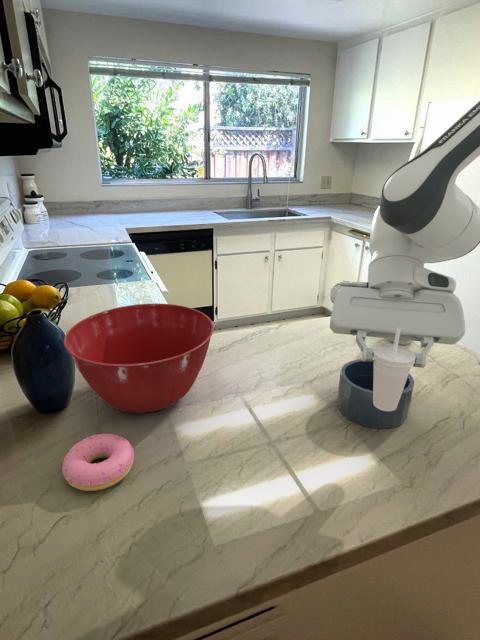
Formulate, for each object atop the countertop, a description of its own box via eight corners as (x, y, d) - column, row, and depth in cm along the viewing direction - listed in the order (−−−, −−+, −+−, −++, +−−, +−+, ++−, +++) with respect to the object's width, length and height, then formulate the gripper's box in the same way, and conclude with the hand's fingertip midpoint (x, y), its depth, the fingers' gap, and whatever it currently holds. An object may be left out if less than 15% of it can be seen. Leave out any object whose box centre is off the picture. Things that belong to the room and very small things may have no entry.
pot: (402, 393, 86) (407, 363, 83) (412, 433, 74) (420, 399, 71) (337, 386, 89) (340, 355, 86) (337, 423, 76) (341, 389, 74)
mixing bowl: (138, 461, 67) (129, 381, 61) (47, 401, 83) (33, 332, 77) (241, 388, 87) (241, 323, 81) (153, 351, 103) (148, 294, 97)
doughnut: (138, 444, 71) (136, 425, 69) (132, 493, 60) (129, 471, 59) (73, 450, 69) (69, 430, 67) (55, 500, 59) (50, 479, 57)
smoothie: (364, 412, 64) (376, 332, 59) (365, 391, 70) (376, 316, 64) (407, 419, 62) (423, 338, 57) (404, 397, 68) (419, 321, 63)
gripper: (332, 271, 67) (325, 350, 61) (467, 280, 63) (471, 365, 57) (330, 288, 72) (324, 362, 67) (453, 297, 68) (456, 376, 63)
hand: (393, 363), depth 62 cm, fingers closed on smoothie, 6 cm apart
